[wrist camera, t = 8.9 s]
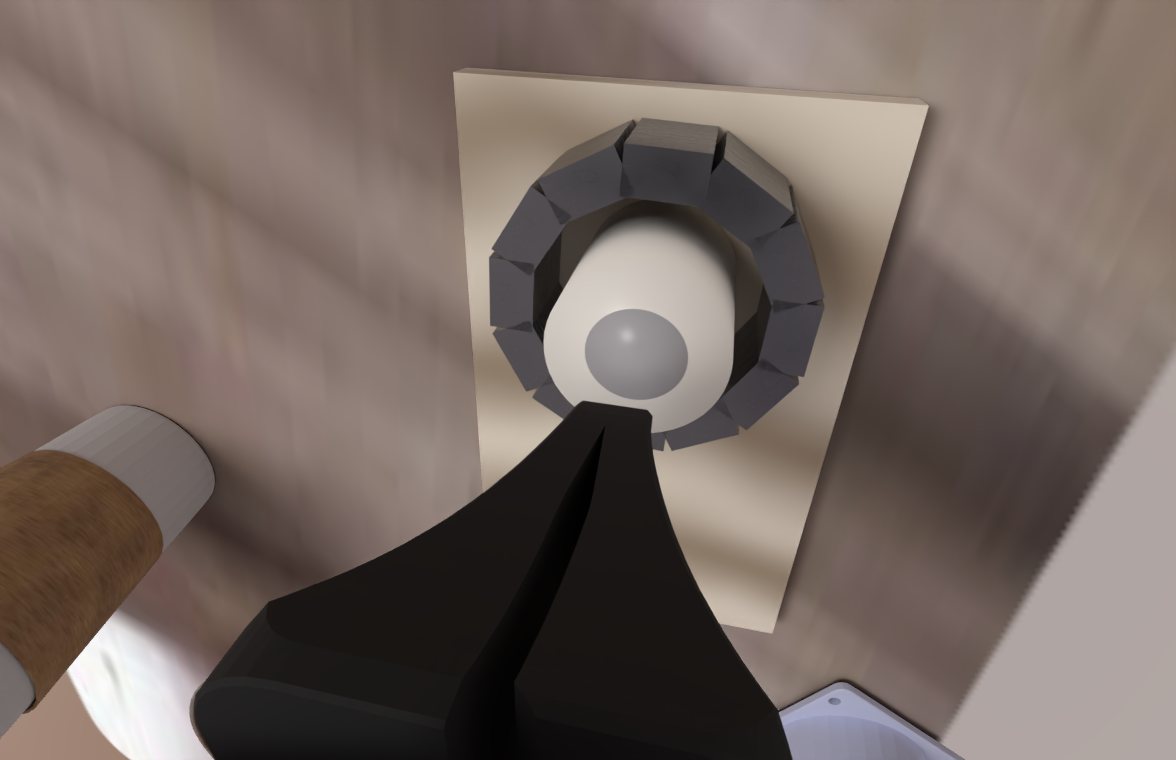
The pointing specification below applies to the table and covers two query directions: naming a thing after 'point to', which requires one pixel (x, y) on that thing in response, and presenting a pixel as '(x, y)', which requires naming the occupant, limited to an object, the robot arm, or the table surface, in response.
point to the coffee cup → (85, 538)
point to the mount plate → (846, 268)
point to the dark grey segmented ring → (681, 176)
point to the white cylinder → (648, 315)
